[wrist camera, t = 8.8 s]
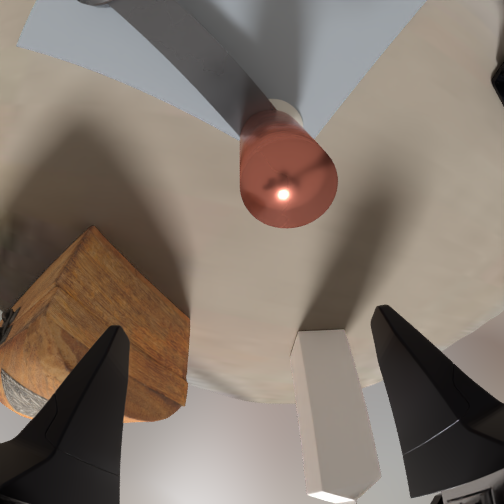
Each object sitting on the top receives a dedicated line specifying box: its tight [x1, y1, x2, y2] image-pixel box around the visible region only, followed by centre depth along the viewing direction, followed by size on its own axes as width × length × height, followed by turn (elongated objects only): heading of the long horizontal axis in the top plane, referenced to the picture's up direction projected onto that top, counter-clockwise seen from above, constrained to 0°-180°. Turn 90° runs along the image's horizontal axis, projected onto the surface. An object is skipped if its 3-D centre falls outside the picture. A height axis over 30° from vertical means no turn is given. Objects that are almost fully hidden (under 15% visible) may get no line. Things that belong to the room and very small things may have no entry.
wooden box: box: [0, 226, 190, 423], centre depth 24 cm, size 30×16×14 cm, turn 119°
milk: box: [290, 329, 381, 504], centre depth 25 cm, size 6×6×22 cm
